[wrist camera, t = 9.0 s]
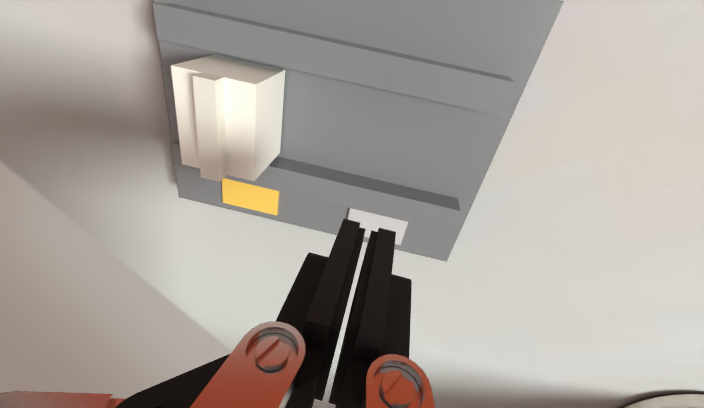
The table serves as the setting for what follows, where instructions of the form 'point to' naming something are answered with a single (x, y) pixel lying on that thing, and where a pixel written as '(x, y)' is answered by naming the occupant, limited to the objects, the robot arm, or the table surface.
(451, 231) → the switch panel
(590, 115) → the table surface
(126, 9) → the table surface
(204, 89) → the switch tab
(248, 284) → the table surface
